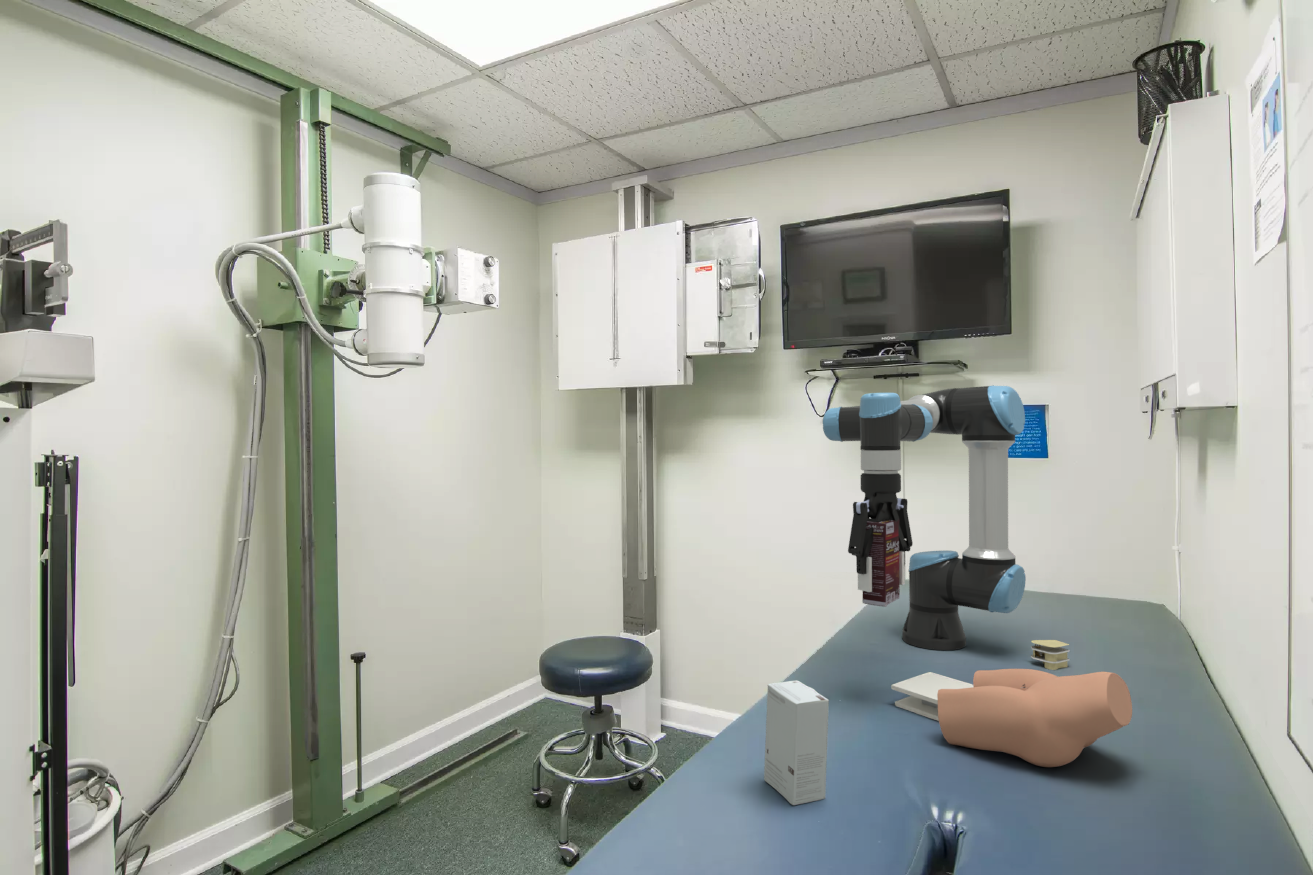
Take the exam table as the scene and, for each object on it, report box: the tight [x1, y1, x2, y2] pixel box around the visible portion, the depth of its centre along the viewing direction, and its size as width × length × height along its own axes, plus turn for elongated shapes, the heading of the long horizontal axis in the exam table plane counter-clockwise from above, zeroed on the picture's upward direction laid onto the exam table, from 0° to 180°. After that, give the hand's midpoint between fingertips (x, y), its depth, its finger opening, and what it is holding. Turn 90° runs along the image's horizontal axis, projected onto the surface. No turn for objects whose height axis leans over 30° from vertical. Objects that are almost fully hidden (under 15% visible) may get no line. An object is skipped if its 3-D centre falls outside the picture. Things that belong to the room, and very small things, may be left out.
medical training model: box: [937, 668, 1133, 768], centre depth 115 cm, size 21×25×13 cm
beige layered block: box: [1030, 639, 1071, 671], centre depth 158 cm, size 10×9×6 cm
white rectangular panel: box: [890, 671, 974, 722], centre depth 133 cm, size 13×13×4 cm
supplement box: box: [861, 520, 901, 608], centre depth 135 cm, size 9×5×16 cm, turn 143°
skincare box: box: [763, 680, 830, 806], centre depth 102 cm, size 8×6×15 cm
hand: (881, 586), depth 135 cm, fingers closed on supplement box, 9 cm apart
